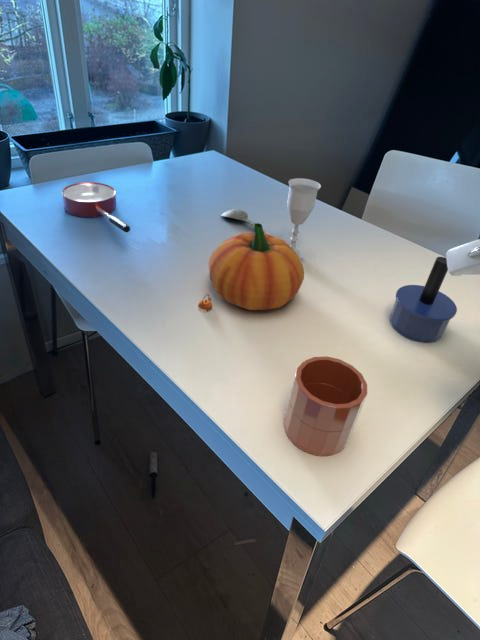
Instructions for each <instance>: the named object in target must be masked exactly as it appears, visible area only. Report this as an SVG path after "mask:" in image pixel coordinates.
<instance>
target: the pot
mask: <svg viewBox="0 0 480 640" xmlns="http://www.w3.org/2000/svg"><path fill="white" fill-rule="evenodd" d="M367 396H368V383H367V381H366V380H365V377H364V376H363V374H362V373H361V372H360V371H359V370H358V369H357V368H356V367H355V366H353V365H352V364H350V363H348V362H346V361H344V360H342V359H340V358H336V357H331V356H327V355H325V356H313V357H311V358H310V357H309V358H308V359H305V360H303V361H302V363H300V364H299V365H298V367H297V368H296V371H295V374H294V378H293V383H292V386H291V391H290V394H289V400H288V403H287V407H286V412H285V416H284V422H283V426H284V431H285V434H286V436H287V438H288V439H289V441H290V442H291V443H292V444H293V445H294V446H295V447H296V448H297V449H299V450H301V451H303V452H304V453H307V454H309V455H313V456H316V457H317V456H318V457H329V456H333V455H337V454H338V453H340V452H341V451H343V450H344V449H345V448H346V447H347V444H348V442H349V441H350V439H351V436H352V434H353V431H354V428H355V426H356V424H357V421H358V418H359V416H360V414H361V411H362V408H363V406H364V403H365V401H366V398H367Z"/></svg>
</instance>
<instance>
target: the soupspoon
mask: <svg viewBox="0 0 480 640" xmlns="http://www.w3.org/2000/svg"><path fill="white" fill-rule="evenodd" d="M220 216H221V217H224V218H231V219H235V220H239V221H243V222H245V223H247V224H249V225H251V226H252V227H254V224H255V223H254V222H253V221H250V220H248V217H249V215H248V213H247V212H246V211H244V210H242V209H238V208H237V209H236V208H234V209H228V210H226V211H224V212H223V213H222V214H221V215H220ZM263 231H264V233H265V234H268V235H270V234H269V233H268V232H267V231H265V230H264V229H263Z"/></svg>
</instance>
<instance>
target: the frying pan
mask: <svg viewBox="0 0 480 640" xmlns="http://www.w3.org/2000/svg"><path fill="white" fill-rule="evenodd" d="M61 194H62V200H63V206H64V209H65V211H66V212H67V213H69V215H70V214H71V215H72V216H75V217H80V218H101V217H105V218H106V219H108V221H109V222H110V223H111V224H113V225H114V226H115V227H117V228H118V229H120V230H121V231H122V232H124V233H129V232H130V231H131V226H129V225H128V224H127V223H125V222H123V220H121V219H119V218H118V217H116V216H115V215H112V213H113V212H115V210H116V209H117V196H116V195H117V194H116V189H115V188H114V187H113V186H110V185H108V184H104V183H101V182H94V181H92V182H90V181H86V182H85V181H84V182H77V183H72V184H70V185H67V186H65V187H64V188H63V189H62V192H61Z"/></svg>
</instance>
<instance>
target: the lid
mask: <svg viewBox="0 0 480 640" xmlns="http://www.w3.org/2000/svg"><path fill="white" fill-rule="evenodd" d="M448 272H449V271H448V268H447V259H446V257H444V256H437V257H436V258H435V259H434V263H433V265H432V268H431V270H430V272H429V275H428V277H427V279H426V282H425V284H424V285H420V284H407V285H403V286H401V287H399V288H398V289H397V290H396V292H395V301H396V300H397V302H398V304H399V305H400V306H401V307H402V308H403V309H404V310H406V311H407V312H409V313H411V314H412V315H415V316H417V317H419V318H422V319H426V320H431V321H447V320H450V321H451V320H452V319H453V318H454V317H455V316H456V314H457V312H458V307H457V305H456V303H455V302H454V300H452V299H451V298H450V296H448V295H447V294H445V293H443V292H441V291H440V289H441V287H442V284H443V282H444V280H445V278H446V276H447V273H448Z"/></svg>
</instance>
